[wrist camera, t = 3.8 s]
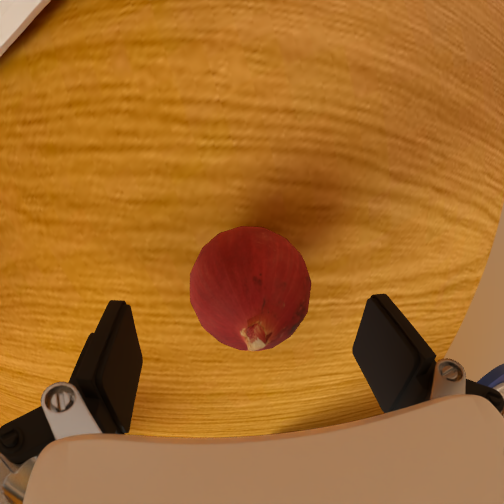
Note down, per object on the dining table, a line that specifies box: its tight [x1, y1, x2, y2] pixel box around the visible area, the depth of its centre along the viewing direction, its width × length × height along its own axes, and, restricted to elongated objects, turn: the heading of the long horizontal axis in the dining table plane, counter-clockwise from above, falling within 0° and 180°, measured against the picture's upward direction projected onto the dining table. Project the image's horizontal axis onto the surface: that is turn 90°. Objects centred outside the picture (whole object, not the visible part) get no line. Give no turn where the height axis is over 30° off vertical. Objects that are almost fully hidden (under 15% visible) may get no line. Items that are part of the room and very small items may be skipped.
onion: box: [190, 226, 311, 351], centre depth 14 cm, size 6×6×8 cm
